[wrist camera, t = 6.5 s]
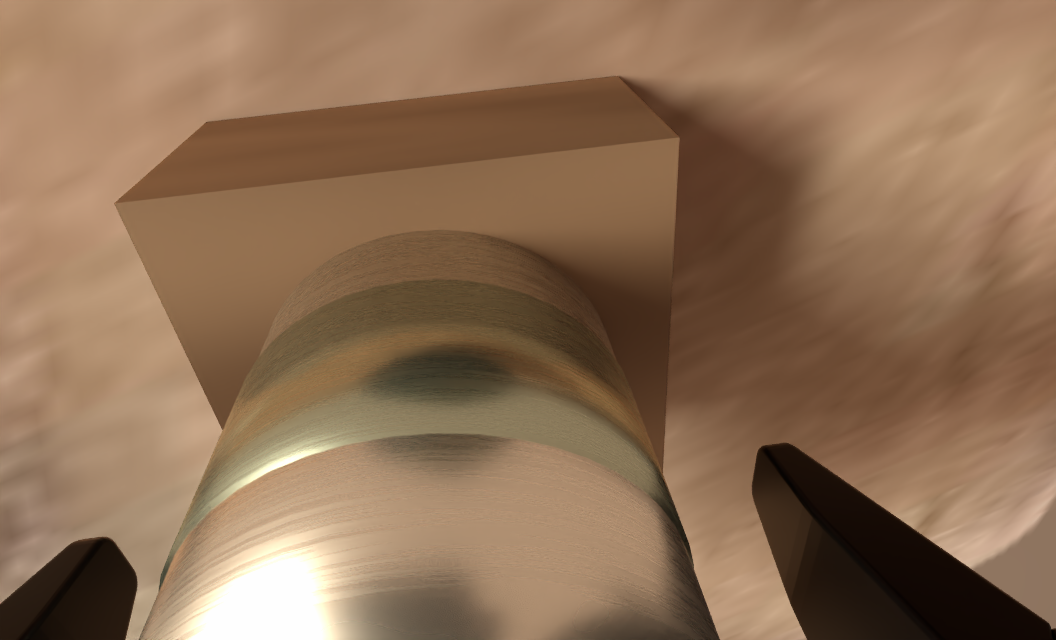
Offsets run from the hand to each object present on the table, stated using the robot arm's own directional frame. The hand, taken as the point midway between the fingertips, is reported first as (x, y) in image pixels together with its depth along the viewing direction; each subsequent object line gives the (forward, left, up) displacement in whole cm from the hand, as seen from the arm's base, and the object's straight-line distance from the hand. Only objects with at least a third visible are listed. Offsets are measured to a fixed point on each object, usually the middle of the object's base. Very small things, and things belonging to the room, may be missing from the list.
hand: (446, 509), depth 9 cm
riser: (0, 0, -7) cm, 7 cm away
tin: (0, 0, -3) cm, 3 cm away
